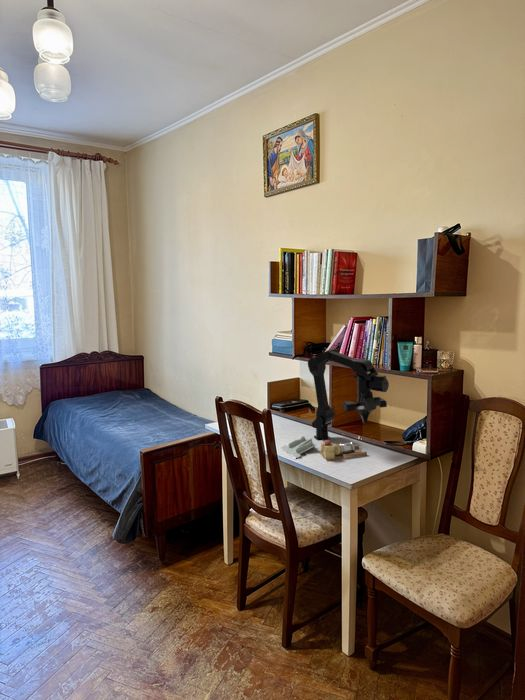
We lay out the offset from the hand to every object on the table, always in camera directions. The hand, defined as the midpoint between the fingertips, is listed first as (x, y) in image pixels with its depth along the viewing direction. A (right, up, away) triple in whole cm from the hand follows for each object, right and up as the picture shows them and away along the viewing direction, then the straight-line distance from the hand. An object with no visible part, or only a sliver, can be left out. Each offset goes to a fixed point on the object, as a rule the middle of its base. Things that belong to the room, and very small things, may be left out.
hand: (364, 423), depth 209 cm
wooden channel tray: (-10, -13, -4) cm, 17 cm away
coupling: (-9, -13, -4) cm, 16 cm away
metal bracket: (-28, -14, +4) cm, 32 cm away
